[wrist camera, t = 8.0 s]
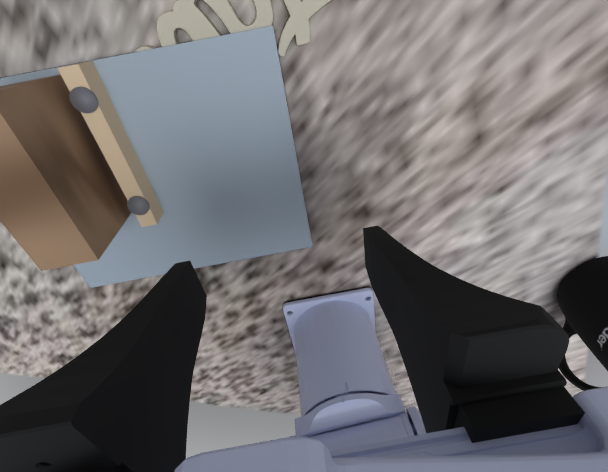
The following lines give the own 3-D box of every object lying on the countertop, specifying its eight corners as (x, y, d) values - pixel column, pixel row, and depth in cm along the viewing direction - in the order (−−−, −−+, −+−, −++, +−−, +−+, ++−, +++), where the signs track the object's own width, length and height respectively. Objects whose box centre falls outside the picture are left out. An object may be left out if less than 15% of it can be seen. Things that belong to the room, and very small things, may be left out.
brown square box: (134, 208, 21) (98, 260, 17) (87, 216, 21) (38, 271, 17) (64, 73, 17) (-13, 94, 12) (4, 85, 17) (-95, 110, 12)
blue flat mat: (311, 239, 25) (315, 260, 23) (96, 278, 25) (79, 304, 23) (272, 25, 17) (273, 26, 15) (-40, 85, 17) (-86, 96, 15)
